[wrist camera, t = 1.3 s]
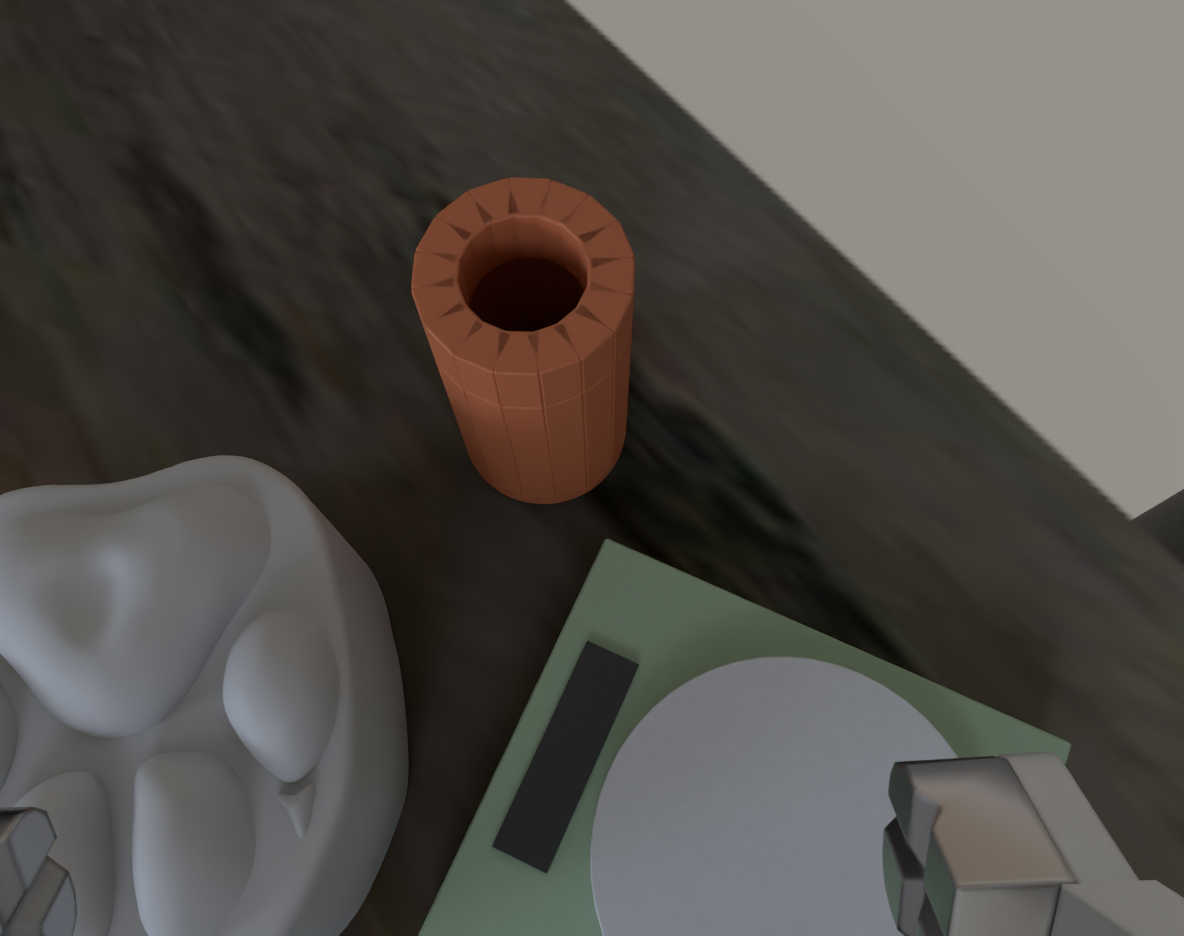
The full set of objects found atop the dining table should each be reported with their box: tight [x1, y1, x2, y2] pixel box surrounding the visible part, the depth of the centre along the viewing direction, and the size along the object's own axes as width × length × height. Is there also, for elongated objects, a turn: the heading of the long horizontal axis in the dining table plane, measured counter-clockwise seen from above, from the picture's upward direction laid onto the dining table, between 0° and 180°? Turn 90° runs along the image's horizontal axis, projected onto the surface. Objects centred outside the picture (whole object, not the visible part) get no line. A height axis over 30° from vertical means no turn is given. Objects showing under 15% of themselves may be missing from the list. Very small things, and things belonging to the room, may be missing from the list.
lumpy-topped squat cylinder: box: [0, 455, 409, 936], centre depth 27 cm, size 10×13×9 cm
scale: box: [418, 539, 1071, 936], centre depth 29 cm, size 14×12×3 cm
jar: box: [411, 177, 635, 504], centre depth 29 cm, size 5×5×10 cm
